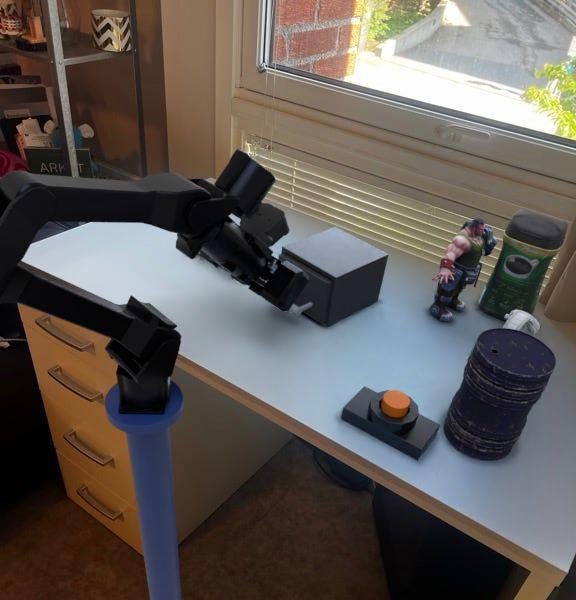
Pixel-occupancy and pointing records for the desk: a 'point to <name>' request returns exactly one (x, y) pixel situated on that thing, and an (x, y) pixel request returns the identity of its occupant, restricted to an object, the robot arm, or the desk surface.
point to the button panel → (390, 423)
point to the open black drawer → (311, 292)
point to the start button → (395, 403)
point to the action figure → (461, 267)
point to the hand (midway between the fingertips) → (277, 288)
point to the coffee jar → (522, 263)
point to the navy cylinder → (497, 393)
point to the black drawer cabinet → (343, 269)
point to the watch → (521, 322)
